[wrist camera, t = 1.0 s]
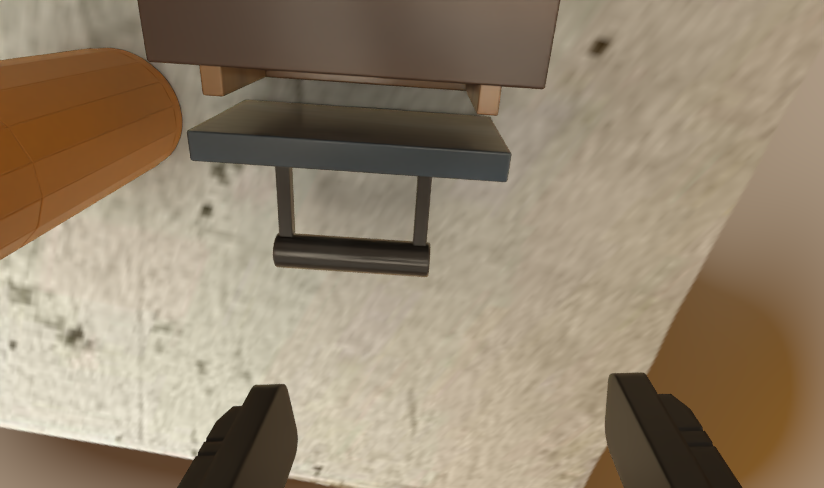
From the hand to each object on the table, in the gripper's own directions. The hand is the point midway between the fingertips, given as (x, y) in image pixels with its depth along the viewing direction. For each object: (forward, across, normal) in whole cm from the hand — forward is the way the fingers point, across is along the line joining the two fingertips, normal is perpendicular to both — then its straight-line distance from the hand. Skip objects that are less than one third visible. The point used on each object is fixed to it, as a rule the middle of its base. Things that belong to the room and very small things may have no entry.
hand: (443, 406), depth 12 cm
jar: (+16, +16, -6) cm, 24 cm away
